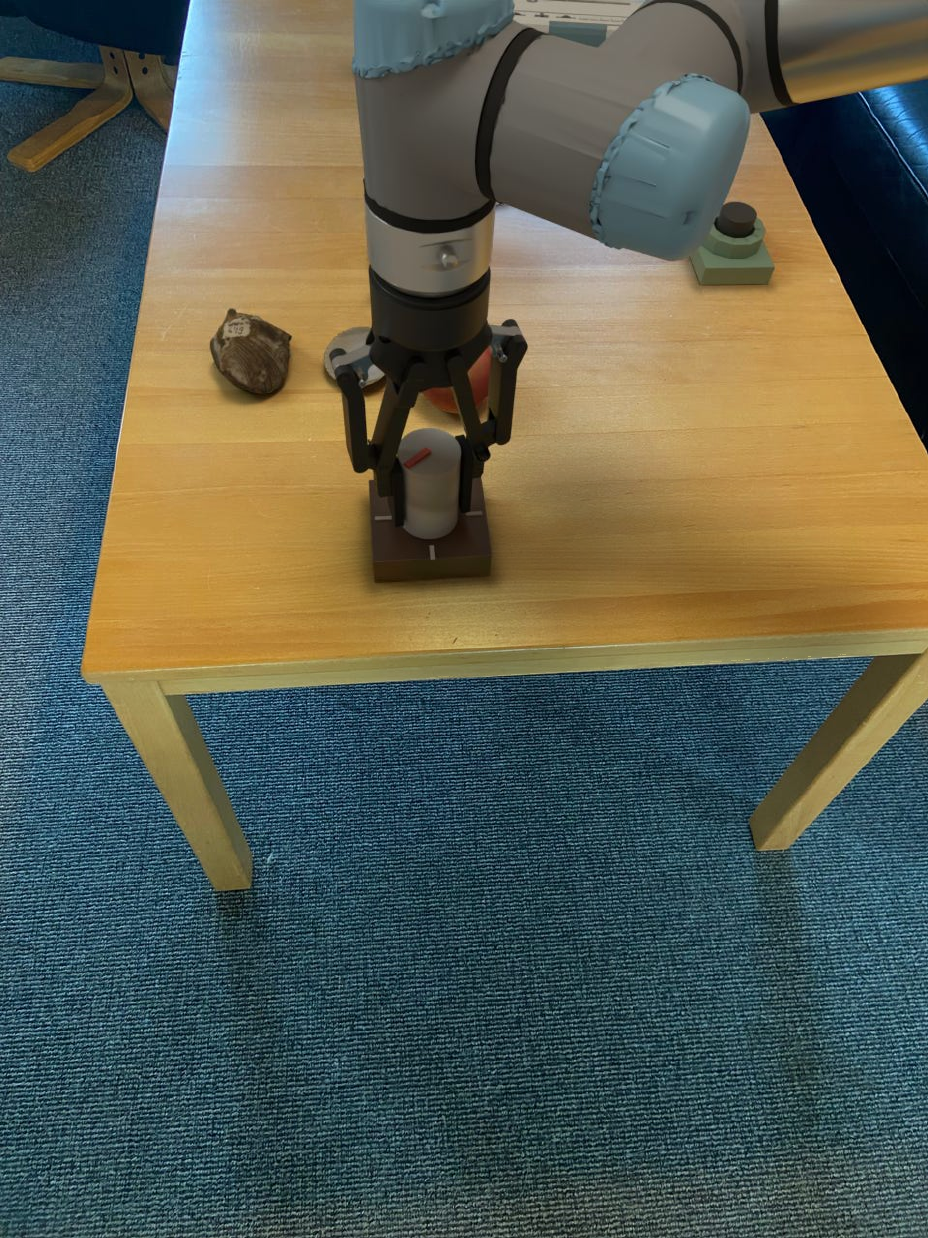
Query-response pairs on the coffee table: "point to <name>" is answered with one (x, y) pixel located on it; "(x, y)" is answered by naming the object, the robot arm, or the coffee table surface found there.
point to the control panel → (430, 544)
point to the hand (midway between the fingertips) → (428, 507)
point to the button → (736, 220)
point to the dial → (430, 482)
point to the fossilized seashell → (251, 352)
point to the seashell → (349, 343)
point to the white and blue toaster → (575, 17)
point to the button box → (733, 258)
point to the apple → (478, 382)
